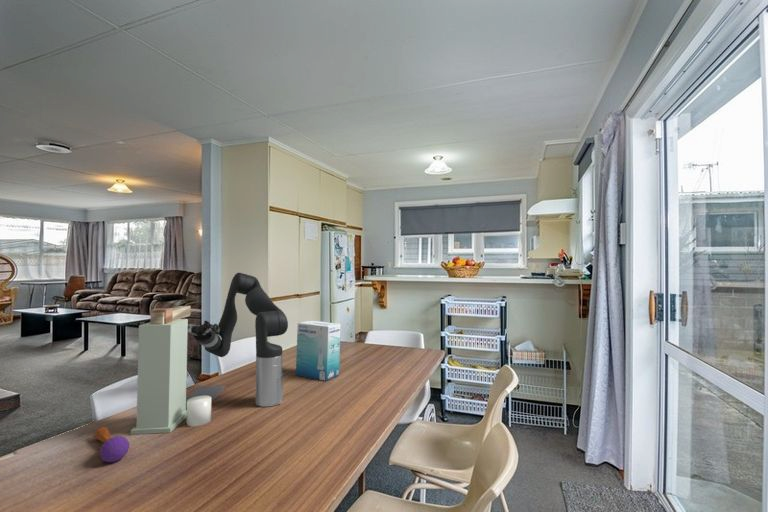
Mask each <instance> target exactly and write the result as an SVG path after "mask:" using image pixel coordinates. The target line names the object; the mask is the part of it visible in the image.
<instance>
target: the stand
mask: <svg viewBox="0 0 768 512" xmlns="http://www.w3.org/2000/svg"><path fill="white" fill-rule="evenodd" d="M188 321H189V320H188V319H187V318H181V319H178V320H175V321H172V322H170V323H167V324H163V325H151V324H150V322H147V323H143V324H139V325H138V347H137V349H138V351H137V352H138V353H137V354H138V356H137V389H136V390H137V392H136V395H137V397H136V426H135V427H133V428H132V429H130V435H144V434H145V435H146V434H165V433H168V434H169V433H172V431H174V429H176V428H177V427H178V425H179V424H181V423H182V422H183V421H184V420H185V419H187V410H186V397H187V375H188V374H187V369H188V333H187V331H188V323H189V322H188Z"/></svg>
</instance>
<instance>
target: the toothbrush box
mask: <svg viewBox="0 0 768 512" xmlns="http://www.w3.org/2000/svg"><path fill="white" fill-rule="evenodd" d="M341 327H342V325H341V323H336V322H327V321H320V320H319V321H318V320H306V321H301V322H297V329H296V331H297V332H296V333H297V335H296V337H297V338H296V356H295V357H296V360H295V361H296V362H295V363H296V365H295V375H296V376H299V377H304V378H308V377H309V378H310V379H313V378H314V380H318V379H319V380H320V381H323V380H324V381H323V382H327V380H328V381H329V380H332V379H333V377H334V378H336V377H338V376H337V375H339V376H340V356H341V355H340V353H341V350H340V349H341ZM335 376H336V377H335ZM319 380H318V381H319Z"/></svg>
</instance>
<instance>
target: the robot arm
mask: <svg viewBox="0 0 768 512" xmlns="http://www.w3.org/2000/svg"><path fill="white" fill-rule="evenodd" d="M237 294H240V295H244V296H245V299H244V301H245V302H244V303H245V305H246V307H247V309H248V311H249V312H250V313H251V314H253V315H254V316H255V323H254V324H255V325H254V328H255V352H256V353H255V399H254V400H255V405H256V406H259V407H262V408H264V407H272V406H276V405H281V403H282V401H283V397H284V395H283V394H284V373H283V347H282V346H281V345H280V344H275V343H271V342H270V341H268V338H270V337H278V336H282V335H284V334H285V333H286V332H287V331H288V327H289V322H288V317H287V316H286V314H285V313H284V311H283V310H282V309H280V307H278V306H277V305H276V304H275V303H274V302H273V301H272V300H271V298H270V296H269V295H268V294H267V293H266V292H265V291H264V289H263V288H262V286H261V284H260V281H259V280H258V278H257V277H255V276H253V275H250V274H246V273H242V272H236V273H235V274H234V276H233V277H232V279H231V282H230V285H229V289H228V292H227V296H226V300H225V303H224V309H223V311H222V315H221V318H220V319H219V321H218V323H214V324H213V323H210V322H209V321H208V320H204V322H203V324H200V325H199V324H198V325H197V324H193V323H190V324H188V331H187V334H190V335H193V338H194V340H195V341H197V343H199V344H200V345H202V346H203V347H204V350H205V351H206V352H208V353H210V354H212V355H214V356H217V357H220V358H224V357H226V356H227V355H228V354H229V353H230V350H231V345H232V344H231V343H232V336H233V332H234V329H235V327H236V325H237V322H238V313H237V309H236V307H237V306H236V296H237Z"/></svg>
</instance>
